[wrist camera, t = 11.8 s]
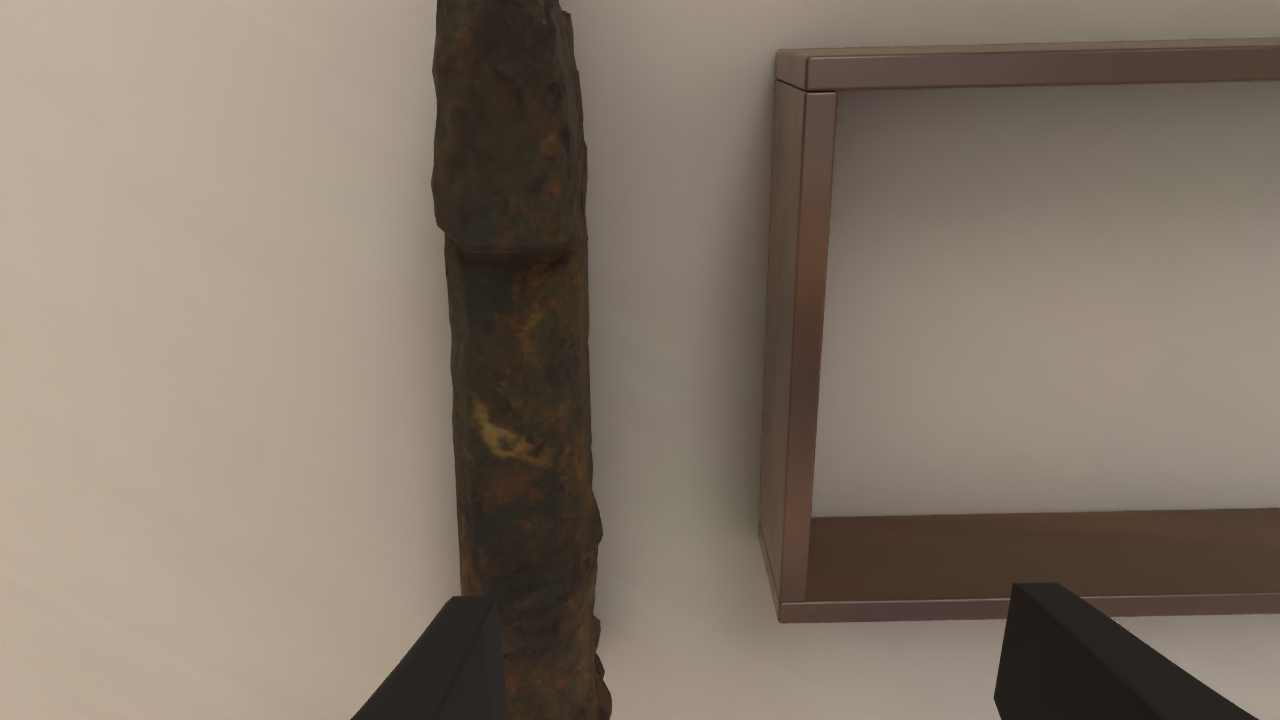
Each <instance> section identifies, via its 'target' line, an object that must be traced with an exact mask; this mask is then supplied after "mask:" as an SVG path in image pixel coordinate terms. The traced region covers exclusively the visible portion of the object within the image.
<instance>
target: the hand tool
mask: <svg viewBox="0 0 1280 720" xmlns="http://www.w3.org/2000/svg"><path fill="white" fill-rule="evenodd" d="M432 73H433V78H434V84H435V90H436V97H437V120H436V129H435V138H434V167H433V173H432V180H431V187H432V192H433V199H434V209H435V217H436V221H437V226H438V227H439V228H440V229H441V230H443V231H444V232H445V249H444V255H445V266H446V277H447V288H448V300H449V320H450V325H451V333H452V347H451V365H450V367H451V376H452V385H453V412H452V424H453V444H454V456H455V474H456V495H457V517H458V534H459V551H460V579H461V593H462V596H495V595H496V599H497V608H498V617H499V626H500V635H501V644H502V653H503V662H504V671H505V680H506V689H507V698H508V707H509V711H508V720H609V719H610V716H611V713H612V699H611V694H610V692H609V690H608V688H607V686H606V685H605V683H604V681H603V677H604V673H605V670H604V668H603V666H602V663H601V661H600V658H599V657H598V655H597V654H596V649H597V646H598V642H599V636H600V631H601V628H600V620H599V619H597V618H596V617H595V616H594V615H593V607H594V601H595V583H596V573H597V554H598V545H599V543H600V541H601V539H602V535H603V530H602V524H601V518H600V513H599V510H598V506H597V503H596V500H595V497H594V494H593V491H592V475H593V460H592V451H591V444H592V438H591V408H590V376H589V350H588V334H589V296H588V247H587V242H588V236H587V229H586V217H585V205H586V191H587V147H586V144H585V141H584V133H583V110H582V99H581V89H580V80H579V72H578V70H577V68H576V62H575V58H574V45H573V27H572V21H571V15H570V13H567V12H565V11H562V10H561V7H560V5H559V1H558V0H437V15H436V40H435V50H434V59H433V68H432Z"/></svg>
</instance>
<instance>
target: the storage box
mask: <svg viewBox="0 0 1280 720" xmlns="http://www.w3.org/2000/svg"><path fill="white" fill-rule="evenodd" d="M775 76H776V78H777V80H776V81H775V94H774V121H773V148H772V176H771V203H770V230H769V257H768V285H767V312H766V339H765V366H764V394H763V421H762V448H761V475H760V503H759V519H760V520H759V531H758V537H759V541H760V546H761V550H762V554H763V558H764V563H765V567H766V571H767V575H768V580H769V584H770V588H771V592H772V597H773V601H774V605H775V610H776V614H777V618H778V621H779V623H831V622H881V621H931V620H982V619H1007V615H1008V609H1009V603H1010V597H1011V591H1012V585H1013V583H1043V582H1057V583H1059V584H1061V585H1062V586H1064V587H1065V588H1067V589H1068V590H1070V591H1072V592H1073V593H1075V594H1076V595H1078V596H1079V597H1080V598H1082V599H1083V600H1085V601H1086V602H1088V603H1089V604H1091V605H1092V606H1093V607H1095V608H1096V609H1098V610H1099V611H1101V612H1102V613H1103V614H1105V615H1106V616H1108V617H1132V616H1182V615H1233V614H1280V508H1274V509H1225V510H1176V511H1128V512H1079V513H1030V514H982V515H933V516H884V517H836V518H811V509H812V493H813V477H814V462H815V446H816V430H817V415H818V399H819V383H820V368H821V352H822V337H823V321H824V305H825V290H826V274H827V258H828V243H829V227H830V211H831V196H832V180H833V164H834V149H835V133H836V117H837V102H838V94H837V92H835V91H861V90H904V89H947V88H991V87H1034V86H1077V85H1120V84H1164V83H1207V82H1250V81H1280V38H1244V39H1201V40H1158V41H1115V42H1072V43H1030V44H987V45H944V46H901V47H859V48H816V49H779V50H777V52H776V69H775Z"/></svg>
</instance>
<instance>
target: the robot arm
mask: <svg viewBox="0 0 1280 720" xmlns="http://www.w3.org/2000/svg"><path fill="white" fill-rule="evenodd" d="M994 700H995V703H996V706H997V709H998V712H999V714H1000V717H1001V720H1258V719H1257V718H1255V717H1254V716H1252V715H1251V714H1249V713H1247V712H1246V711H1244V710H1243V709H1241V708H1239V707H1238V706H1236V705H1235V704H1233V703H1232V702H1230V701H1229V700H1227V699H1226V698H1224V697H1223V696H1221V695H1220V694H1218V693H1217V692H1215V691H1214V690H1212V689H1211V688H1209V687H1208V686H1206V685H1205V684H1203V683H1202V682H1200V681H1199V680H1197V679H1196V678H1194V677H1193V676H1191V675H1190V674H1189V673H1187V672H1186V671H1184V670H1183V669H1181V668H1180V667H1178V666H1177V665H1176V664H1174V663H1173V662H1171V661H1170V660H1168V659H1167V658H1166V657H1164V656H1163V655H1161V654H1160V653H1158V652H1157V651H1156V650H1154V649H1153V648H1151V647H1150V646H1148V645H1147V644H1146V643H1144V642H1143V641H1141V640H1140V639H1139V638H1137V637H1136V636H1134V635H1133V634H1132V633H1130V632H1129V631H1127V630H1126V629H1125V628H1123V627H1122V626H1120V625H1119V624H1117V623H1116V622H1115V621H1113V620H1112V619H1110V618H1109V617H1108V616H1106V615H1105V614H1103V613H1102V612H1101V611H1099V610H1098V609H1096V608H1095V607H1093V606H1092V605H1091V604H1089V603H1088V602H1086V601H1085V600H1083V599H1082V598H1080V597H1079V596H1078V595H1076V594H1075V593H1073V592H1072V591H1070V590H1068V589H1067V588H1065V587H1064V586H1062V585H1061V584H1059V583H1057V582H1043V583H1013V585H1012V591H1011V597H1010V603H1009V609H1008V615H1007V621H1006V627H1005V633H1004V639H1003V645H1002V651H1001V657H1000V663H999V669H998V675H997V681H996V688H995V694H994ZM508 711H509V707H508V698H507V689H506V680H505V671H504V662H503V653H502V644H501V635H500V626H499V617H498V608H497V599H496V595H495V596H453V597H452V598H451V599H450V600H449V601H448V602H447V603H446V604H445V605H444V606H443V608H442V609H441V610H440V612H439V613H438V614H437V615H436V617H435V618H434V619H433V621H432V622H431V623H430V625H429V626H428V627H427V628H426V630H425V631H424V632H423V634H422V635H421V636H420V637H419V639H418V640H417V641H416V643H415V644H414V645H413V646H412V648H411V649H410V650H409V651H408V653H407V654H406V655H405V656H404V658H403V659H402V660H401V661H400V663H399V664H398V665H397V666H396V667H395V669H394V670H393V671H392V672H391V673H390V675H389V676H388V677H387V678H386V679H385V680H384V682H383V683H382V684H381V685H380V686H379V688H378V689H377V690H376V691H375V692H374V693H373V695H372V696H371V697H370V698H369V699H368V701H367V702H366V703H365V704H364V705H363V706H362V707H361V709H360V710H359V711H358V712H357V713H356V714H355V715H354V716H353V717H352V718H351V719H350V720H508Z"/></svg>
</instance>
